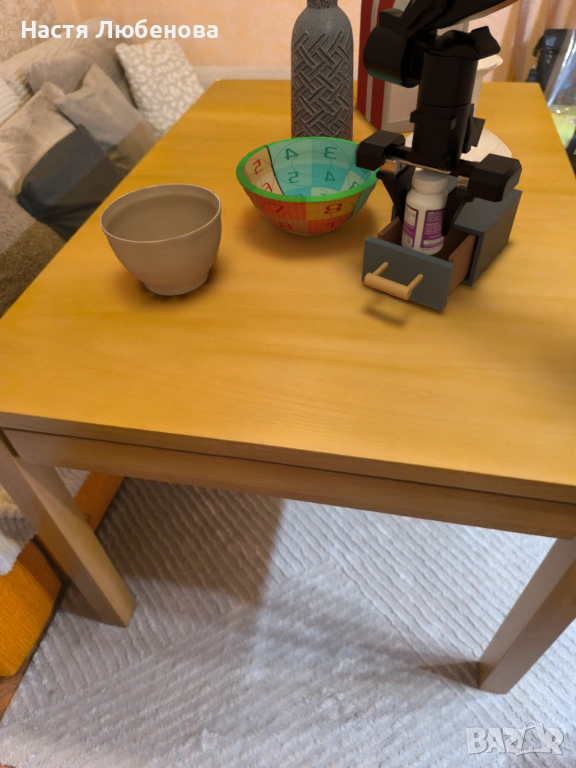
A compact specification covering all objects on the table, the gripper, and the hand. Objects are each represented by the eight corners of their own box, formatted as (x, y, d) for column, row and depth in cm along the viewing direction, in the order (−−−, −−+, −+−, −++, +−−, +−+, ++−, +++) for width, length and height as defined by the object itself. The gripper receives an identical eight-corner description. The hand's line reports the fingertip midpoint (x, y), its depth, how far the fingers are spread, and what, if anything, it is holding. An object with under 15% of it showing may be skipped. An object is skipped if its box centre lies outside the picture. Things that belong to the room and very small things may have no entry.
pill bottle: (444, 238, 71) (458, 167, 64) (439, 260, 68) (452, 187, 61) (404, 233, 72) (413, 163, 65) (397, 254, 69) (405, 182, 62)
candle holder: (529, 185, 93) (566, 61, 79) (444, 219, 86) (467, 91, 72) (448, 148, 105) (468, 35, 91) (368, 175, 99) (376, 58, 85)
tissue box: (420, 97, 125) (439, -49, 106) (454, 124, 113) (482, -35, 94) (354, 106, 123) (360, -41, 104) (381, 135, 111) (394, -25, 92)
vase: (364, 154, 105) (375, -23, 85) (317, 172, 100) (316, -10, 80) (325, 136, 112) (326, -32, 92) (279, 153, 107) (270, -20, 87)
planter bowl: (249, 259, 81) (241, 191, 73) (195, 322, 71) (179, 251, 63) (161, 240, 86) (145, 175, 78) (99, 296, 76) (73, 228, 68)
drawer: (424, 332, 66) (432, 288, 61) (342, 300, 72) (343, 257, 67) (480, 266, 75) (491, 223, 71) (403, 241, 81) (409, 200, 76)
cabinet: (471, 286, 74) (485, 232, 68) (386, 257, 80) (392, 205, 74) (507, 243, 81) (522, 190, 75) (427, 219, 87) (435, 169, 81)
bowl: (407, 232, 84) (415, 170, 77) (288, 280, 77) (285, 217, 69) (326, 181, 98) (327, 124, 90) (219, 217, 90) (210, 159, 83)
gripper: (557, 89, 57) (519, 221, 68) (402, 66, 65) (391, 187, 77) (519, 123, 51) (484, 262, 62) (354, 93, 60) (350, 220, 71)
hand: (424, 229), depth 68 cm, fingers closed on pill bottle, 5 cm apart
